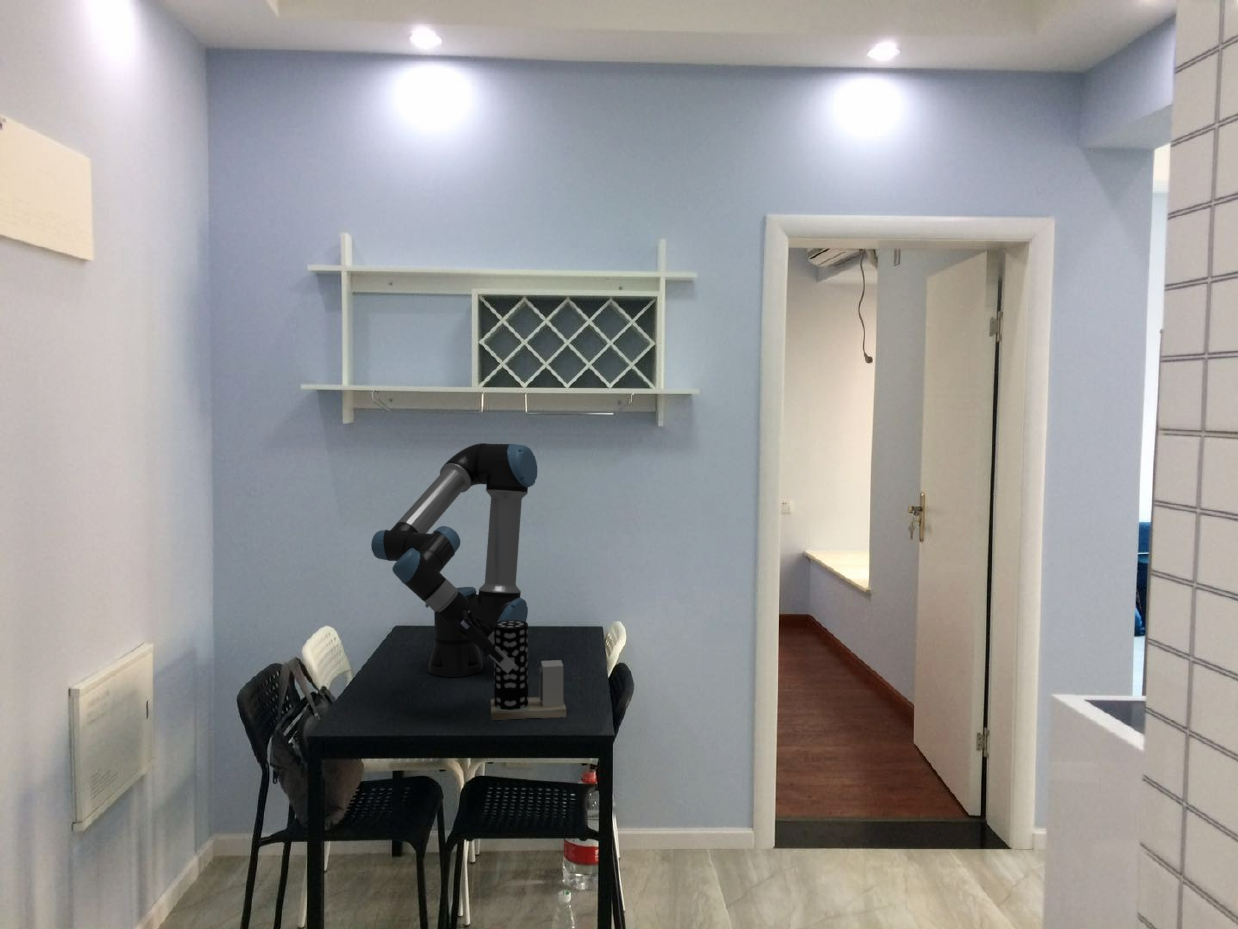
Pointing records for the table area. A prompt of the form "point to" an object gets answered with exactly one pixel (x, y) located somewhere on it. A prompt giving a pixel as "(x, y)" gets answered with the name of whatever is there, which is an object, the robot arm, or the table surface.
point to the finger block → (551, 683)
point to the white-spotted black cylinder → (515, 683)
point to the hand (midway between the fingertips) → (509, 661)
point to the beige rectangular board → (528, 711)
